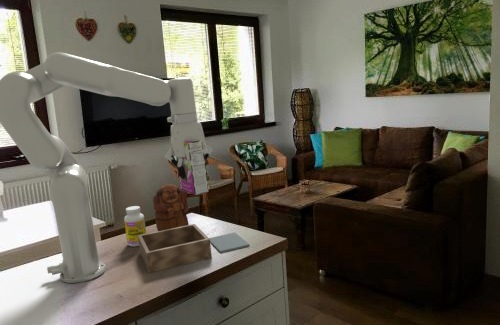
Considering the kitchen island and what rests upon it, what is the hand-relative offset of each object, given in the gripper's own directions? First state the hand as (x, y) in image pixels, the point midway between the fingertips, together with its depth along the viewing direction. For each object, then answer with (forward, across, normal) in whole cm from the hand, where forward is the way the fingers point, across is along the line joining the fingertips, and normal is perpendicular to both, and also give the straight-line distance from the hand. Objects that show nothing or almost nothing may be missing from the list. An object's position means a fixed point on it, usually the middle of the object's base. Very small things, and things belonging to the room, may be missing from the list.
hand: (192, 176), depth 130 cm
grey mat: (+25, +9, 0) cm, 26 cm away
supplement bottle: (+24, -18, +18) cm, 35 cm away
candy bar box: (+5, 0, 0) cm, 5 cm away
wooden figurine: (+24, -4, +22) cm, 33 cm away
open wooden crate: (+24, -9, 0) cm, 26 cm away
